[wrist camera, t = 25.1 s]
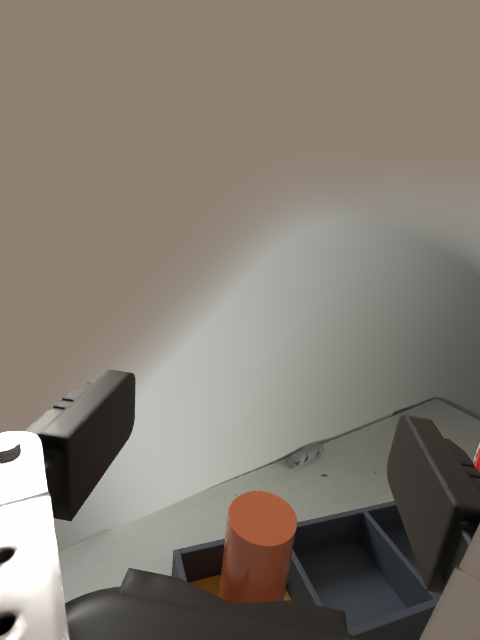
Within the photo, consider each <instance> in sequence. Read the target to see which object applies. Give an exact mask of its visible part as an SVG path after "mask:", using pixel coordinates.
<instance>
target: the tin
mask: <svg viewBox="0 0 480 640" xmlns="http://www.w3.org/2000/svg"><path fill="white" fill-rule="evenodd" d="M296 530H297V518H296V515H295V512H294V510H293V509H292V507H291V506H290V505H289V504H288V503H287V502H286V501H285V500H283V499H282V498H280V497H278V496H276V495H274V494H271V493H268V492H263V491H252V492H247V493H244V494H242V495H240V496H238V497H237V498H236V499H234V501H233V502H232V503H231V505H230V507H229V510H228V517H227V526H226V535H225V543H224V552H223V561H222V569H221V578H220V586H219V595H218V597H219V598H221V599H223V600H225V601H228V602H230V603H253V602H268V601H283V600H284V594H285V589H286V584H287V578H288V573H289V568H290V562H291V557H292V551H293V546H294V541H295V535H296Z"/></svg>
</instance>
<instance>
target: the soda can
mask: <svg viewBox="0 0 480 640" xmlns="http://www.w3.org/2000/svg"><path fill="white" fill-rule="evenodd" d="M473 464H474V465H475V468H477V469H478V471H479V472H480V443H479V446H478V449H477V452H476V455H475V458H474V461H473Z"/></svg>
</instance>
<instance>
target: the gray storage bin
mask: <svg viewBox="0 0 480 640" xmlns="http://www.w3.org/2000/svg"><path fill="white" fill-rule="evenodd" d="M224 543H225V539H222V540H217V541H213V542H208V543H204V544H200V545H195V546H191V547H186V548H182V549H178V550H174V551H173V566H172V577H177V578H181V579H183V580H185V581H187V582H189V583H191V584H193V585H195V586H197V587H199V588H201V589H203V590H205V591H207V592H209V593H211V594H213V595H215V596H217V597H218V595H219V586H220V578H221V569H222V561H223V552H224ZM441 595H442V594H441V593H436V592H430V591H427V589H426V586H425V584H424V581H423V578H422V575H421V572H420V570H419V567H418V564H417V561H416V558H415V556H414V553H413V550H412V547H411V544H410V542H409V539H408V536H407V533H406V530H405V528H404V525H403V522H402V519H401V516H400V514H399V511H398V508H397V505H396V502H395V501H392V502H387V503H383V504H379V505H374V506H370V507H365V508H361V509H356V510H351V511H347V512H343V513H338V514H334V515H329V516H325V517H320V518H316V519H311V520H307V521H302V522H298V523H297V530H296V535H295V541H294V546H293V551H292V557H291V562H290V568H289V573H288V578H287V584H286V589H285V594H284V600H292V601H297V602H302V603H307V604H312V605H317V606H322V607H327V608H332V609H337V610H342V611H345V614H346V621H347V629H348V634H350V635H352V636H354V637H356V638H358V639H360V640H419V639H420V637H421V635H422V633H423V631H424V629H425V627H426V625H427V623H428V621H429V619H430V617H431V615H432V613H433V611H434V609H435V607H436V605H437V603H438V601H439V599H440V597H441ZM284 600H283V601H284Z"/></svg>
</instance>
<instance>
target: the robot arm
mask: <svg viewBox="0 0 480 640" xmlns="http://www.w3.org/2000/svg"><path fill="white" fill-rule="evenodd" d="M134 419H135V376H134V374H133V373H129V372H122V371H116V370H108V371H106V372H105V373H104V374H103V375H102V376H101V377H100V378H99V379H98V380H96V381H95V382H94V383H86V384H84V385H82V386H80V387H77V388H75V389H73V390H72V391H71V392H69V393H68V394H67V395H66V396H65V397H63V399H62V400H60V401H59V402H58V403H56V404H55V405H54V407H53V408H50V409H49V410H48V411H47V412H46V413H45V414H43V415H42V416H41V417H40V418H39V419H37V420H36V421H35V422H34V423H33V424H32V425H30V426H29V427H28V428H27V429H26V430H24V431H13V432H6V433H1V434H0V640H360V639H358V638H356V637H354V636H352V635H350V634H348V629H347V621H346V614H345V611H342V610H337V609H332V608H327V607H322V606H317V605H312V604H307V603H302V602H297V601H292V600H284V601H268V602H253V603H230V602H228V601H225V600H223V599H221V598H219V597H217V596H215V595H213V594H211V593H209V592H207V591H205V590H203V589H201V588H199V587H197V586H195V585H193V584H191V583H189V582H187V581H185V580H183V579H181V578H177V577H172V576H167V575H162V574H157V573H152V572H147V571H142V570H137V569H132V568H129V569H128V571H127V573H126V576H125V578H124V580H123V582H122V585H121V587H113V588H107V589H102V590H98V591H95V592H91V593H88V594H85V595H83V596H80V597H78V598H75V599H73V600H71V601H69V602H67V603H65V602H64V594H63V587H62V580H61V573H60V565H59V558H58V551H57V543H56V536H55V529H54V523H53V522H54V521H53V518H56V519H62V520H67V521H72V519H73V518H74V517H75V515H76V514H77V512H78V511H79V509H80V508H81V506H82V505H83V504H84V502H85V500H86V499H87V498H88V496H89V495H90V493H91V492H92V491H93V489H94V488H95V486H96V485H97V483H98V482H99V480H100V479H101V478H102V476H103V475H104V473H105V472H106V470H107V469H108V467H109V466H110V465H111V463H112V462H113V460H114V459H115V457H116V456H117V455H118V453H119V452H120V450H121V449H122V447H123V446H124V444H125V443H126V441H127V440H128V439H129V436H130V435H131V432H132V429H133V425H134ZM387 477H388V482H389V486H390V488H391V491H392V494H393V497H394V500H395V502H396V505H397V508H398V511H399V514H400V516H401V519H402V522H403V525H404V528H405V530H406V533H407V536H408V539H409V542H410V544H411V547H412V550H413V553H414V556H415V558H416V561H417V564H418V567H419V570H420V572H421V575H422V578H423V581H424V584H425V586H426V589H427V591H430V592H436V593H441V594H442V595H441V597H440V599H439V601H438V603H437V605H436V607H435V609H434V611H433V613H432V615H431V617H430V619H429V621H428V623H427V625H426V627H425V629H424V631H423V633H422V635H421V637H420V639H419V640H480V472H479V471H478V469H477V468H475V465H474V464H473V462H472V461H471V459H470V458H469V457H468V455H467V454H466V452H465V451H463V450H462V449H461V448H460V447H458V446H457V445H456V444H455V443H453V442H452V441H451V440H450V439H444V438H443V436H442V435H441V433H440V432H439V430H438V429H437V427H436V426H435V424H434V423H433V421H432V420H431V419H427V418H421V417H414V416H407V415H402V416H401V417H400V418H399V421H398V424H397V428H396V432H395V436H394V439H393V443H392V447H391V451H390V455H389V459H388V464H387Z"/></svg>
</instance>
